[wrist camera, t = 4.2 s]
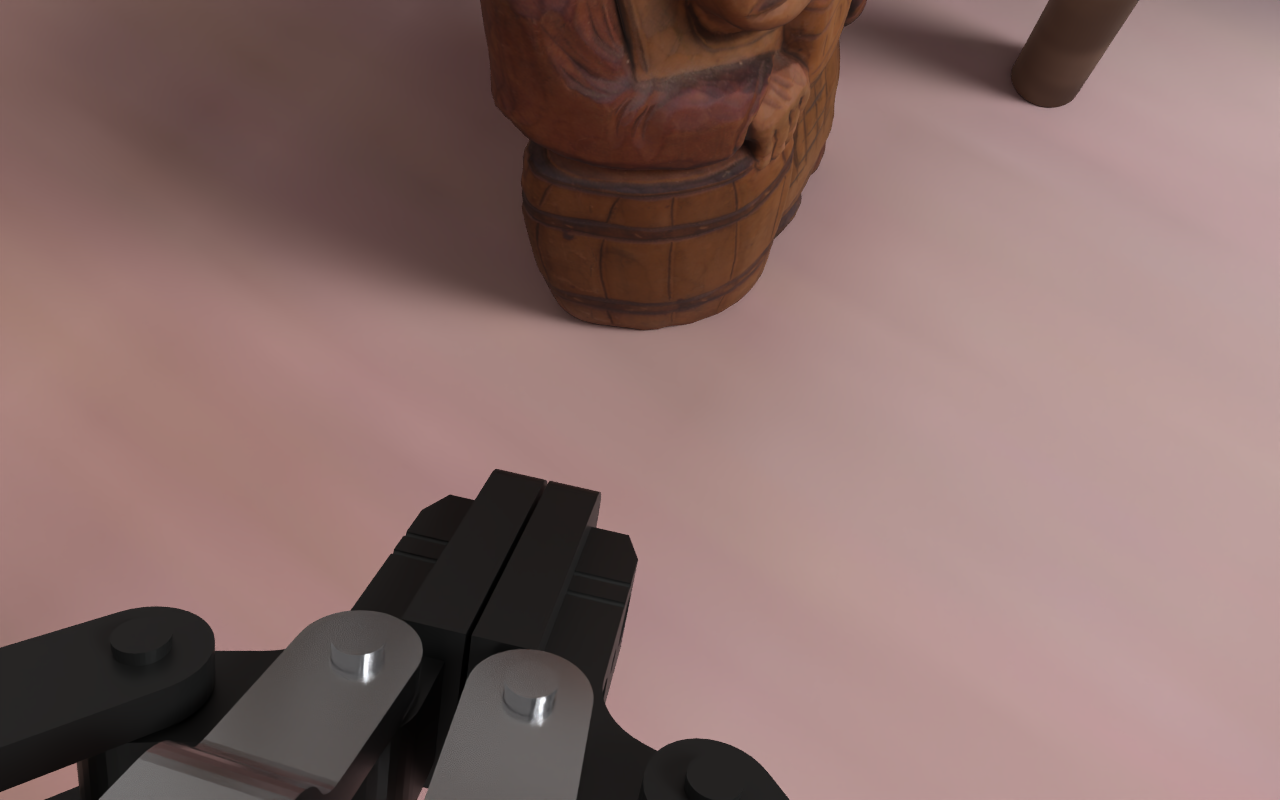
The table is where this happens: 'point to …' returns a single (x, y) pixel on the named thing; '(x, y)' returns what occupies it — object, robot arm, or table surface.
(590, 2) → the wooden figurine
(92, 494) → the table surface
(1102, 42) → the stand
